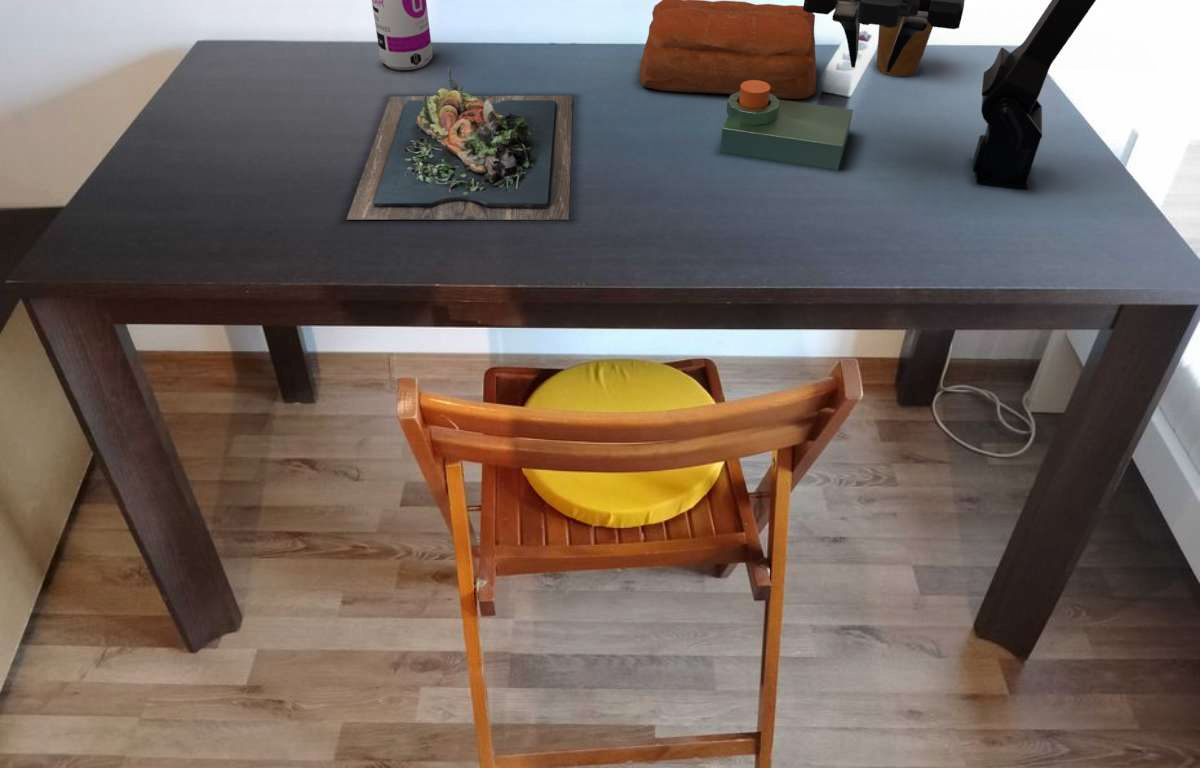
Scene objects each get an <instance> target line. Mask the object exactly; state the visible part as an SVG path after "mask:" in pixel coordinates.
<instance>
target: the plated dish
mask: <svg viewBox="0 0 1200 768" xmlns="http://www.w3.org/2000/svg"><path fill="white" fill-rule="evenodd" d="M447 71H448V72H447V76H448V79H447V81H448V82H449V85H450V88H451V90H448V89H446V88H443V87H442V88H440V89H439V90H438V91H437V94H438V95H437V94H434V95H426V93H424V94H423V95H421V96H419V95H416V96H415V95H414V96H412V95H410V96H405V95H404V96H403V95H402V96H401V95H399V96H389V98H388V101H387V104H386V106H385V110H384V112H383V114H382V115H383V116H382V118H381V121H380V124H379V126H378V129H377V133H376V135H375V138H374V142H373V144H372V146H371V149H370V152H369V155H368V158H367V159H366V163H365V166H364V168H363V172H362V175H361V177H360V180H359V184H358V186H357V189H356V192H355V195H354V197H353V200H352V203H351V206H350V209H349V211H348V215H347V217H346V220H347V221H350V220H351V221H353V220H354V221H356V220H357V221H359V220H360V221H363V220H364V221H365V220H368V221H369V220H371V221H372V220H374V221H375V220H376V221H377V220H421V221H422V220H427V221H428V220H433V221H434V220H460V221H461V220H463V221H464V220H465V221H466V220H468V221H473V220H475V221H477V220H478V221H480V220H481V221H487V220H490V221H491V220H492V221H493V220H494V221H505V220H509V221H510V220H511V221H512V220H513V221H530V220H531V221H545V220H546V221H549V220H550V221H559V220H561V221H564V220H566V221H567V220H568V221H569V220H570V197H571V196H570V194H571V193H570V192H571V191H570V190H571V166H572V165H571V163H572V137H573V136H572V134H573V109H574V107H573V105H574V95H470V94H469V93H465V92H463V88H464V87H465V85H464V84H462V85H461V86H462V87H460V88H458V87H459V84H460V83H459V81H455V80H454V78H453V77H452V69H451V66H448V69H447ZM514 154H515V155H517V157H520V158H515V156H514Z"/></svg>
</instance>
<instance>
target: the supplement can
mask: <svg viewBox="0 0 1200 768" xmlns="http://www.w3.org/2000/svg"><path fill="white" fill-rule="evenodd" d="M427 3H428V2H427V0H371V7H372V12H373V19H374V26H375V31H376V32H375V33H376V38H377V44H378V45H377V46H378V51H379V58H380V61H381V62H382V64H384V65H386V67H388V68H390V69H392V70H397V71H410V70H416V69H420V68H423V67H425V66H426V65H428V63H429V62H430V60H432V58H433V48H432V47H433V46H432V39H431V37H432V36H431V32H430V31H431V30H430V23H429V21H430V20H429V12H428V4H427Z"/></svg>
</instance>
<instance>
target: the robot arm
mask: <svg viewBox="0 0 1200 768" xmlns="http://www.w3.org/2000/svg"><path fill="white" fill-rule="evenodd" d="M965 1H966V0H803V5H802V6H803V10H804V11H806V12H810V13H813V14H820V15H829V14H830V13H831V12H833V14H832V21H833V22H836V23H839V24H841V27H842V29H843V32H844V35H845V38H846V43H847V47H848V55H849V61H850V66H851V68H853V69H855V68H856V64H857V59H858V54H859V44H860V42H859V41H860V29H861V25H863V26H869V25H874V26H879V25H883V26H885V27H888V28H892V27H895V26H897V25H898V24H899V20H900V16H901V17H903V19H902V22H901V25H900V28H899V31H898V34H897V37H896V40H895V43H894V46H893V48H892V51H891V54H890V58H889V62H888V67H887V72H890V71H891V69H892V67H893V65H894V64H895V62H896V60H897V58H898V57H899V55H900V53H901V51H902V50H903V48H904V46H905V45H906V43H907V42H908V41H909V39H910V38H911V37H912V36H913V35H914V34H915V33H916V32H917V31H920V32H923V31H925V30H926V28H927V23H928V22H929V23H930V25H931V26H932V27H933V28H939V29H949V30H958V29H960V25H961V22H962V17H963V13H964V9H965ZM1096 1H1097V0H1051V1H1050V2H1049V4H1048V5H1047V7H1046V8H1045V9H1044V11H1043V13H1042V14H1041V16H1040V17H1039V19H1038V20H1037V22H1036V23H1035V25H1034V26H1033V28H1032V29H1031V31H1030V32H1029V34H1028V36H1027V37H1026V38H1025V40H1024V41H1023V42H1022V43H1021V44H1020V45H1019V46H1017V47H1016V48H1015V49H1013V50H1012V51H1009V50H1007V49H1006V48H1004V47H1001V48H1000V49H999V51H998V52H997V56H996V58H995V61H994V62H993V64H992V65H991V66H990V67H989V68H988V69H987V70H985V71H984V72H983V75H982V88H981V96H982V97H981V109H980V110H981V111H980V112H981V115H982V119H983V120H984V121H985V122H986V124H987V126H986V129H985V133H984V134H981V135H980V136H978V137H979V138H978V141H977V144H976V147H975V152H974V155H973V159H972V163H971V164H972V171H973V173H974V174H975V182H976V183H977V184H982V185H986V186H987V185H989V186H997V187H1004V188H1005V187H1006V188H1014V189H1022V190H1028V189H1029V187H1030V180H1029V176H1030V174H1031V170H1032V167H1033V165H1034V161H1035V158H1036V155H1037V152H1038V149H1039V145H1040V142H1041V140H1042V139H1043V106H1042V105H1041V103H1040V102H1039V100H1038V98H1039V96H1040V94H1041V92H1042V89H1043V86H1044V83H1045V82H1046V79H1047V76H1048V73H1049V71H1050V68H1051V66H1052V64H1053V63H1054V61H1055V60H1056V58H1057V57H1058V55H1059V54H1060V52H1061V51H1062V50H1063V48H1064V47H1065V45H1066V44H1067V43H1068V41H1069V40H1070V38H1071V37H1072V36H1073V34H1074V32H1075V31H1076V30H1077V28H1078V27H1079V25H1080V24H1081V22H1082V21H1083V19H1085V17H1086V16H1087V14H1088V13H1089V11H1090V10H1091V8H1092V7H1093V6H1094V4H1095V2H1096Z"/></svg>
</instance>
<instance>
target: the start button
mask: <svg viewBox="0 0 1200 768" xmlns="http://www.w3.org/2000/svg"><path fill="white" fill-rule="evenodd" d="M769 95H770V85H769V84H768V83H766V82H763V81H759V80H749V81H745V82H743V83H742V84H741V87H740V96H739V105H741V106H743V107H745V108H750V109H762V108H765V107H768V104H769Z"/></svg>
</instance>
